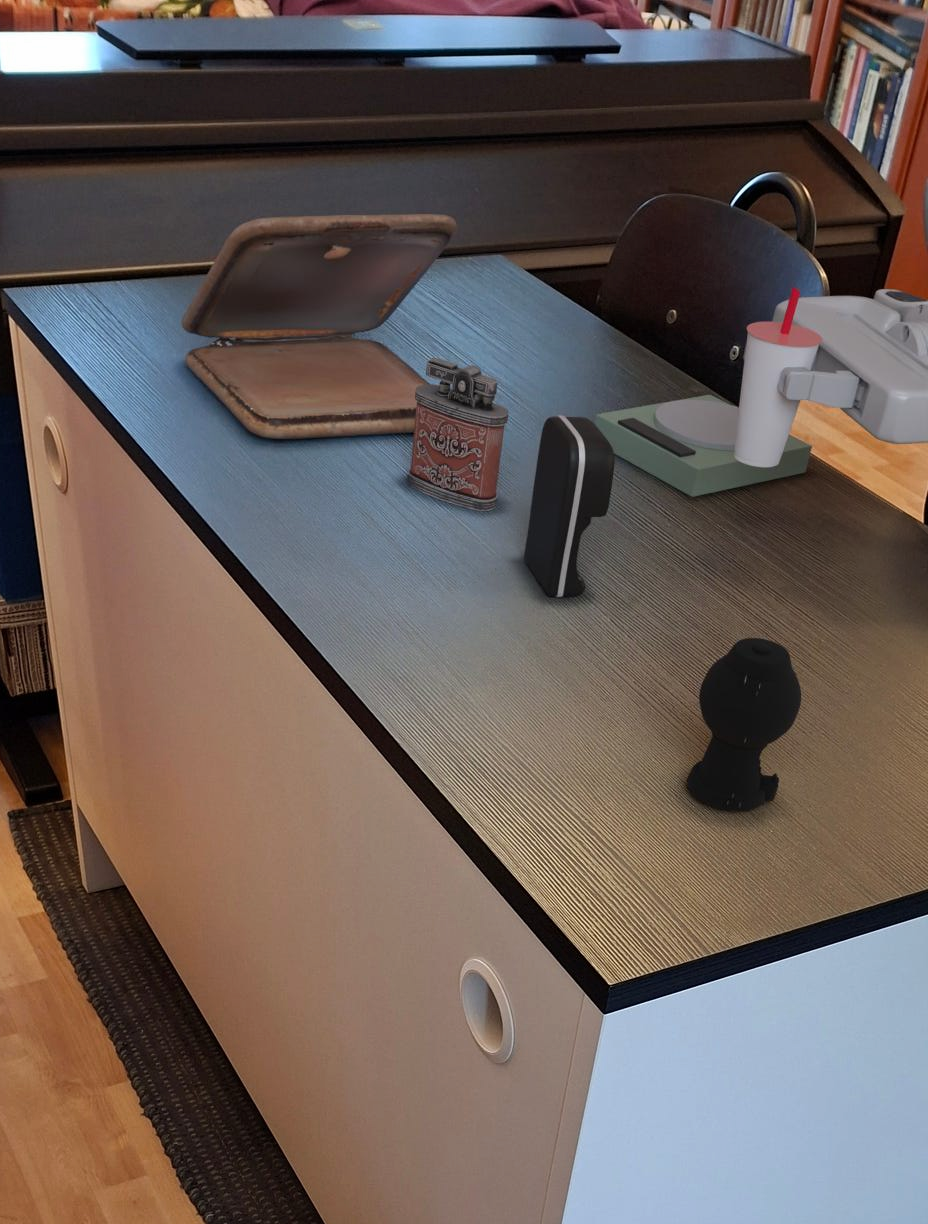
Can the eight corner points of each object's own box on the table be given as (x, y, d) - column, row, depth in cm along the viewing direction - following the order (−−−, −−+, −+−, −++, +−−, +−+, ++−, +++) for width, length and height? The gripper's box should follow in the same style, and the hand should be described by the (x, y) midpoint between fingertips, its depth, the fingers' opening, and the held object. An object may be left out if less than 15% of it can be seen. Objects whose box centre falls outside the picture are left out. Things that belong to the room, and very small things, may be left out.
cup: (780, 447, 120) (820, 278, 113) (801, 474, 116) (843, 301, 109) (712, 443, 120) (747, 273, 112) (731, 471, 116) (768, 296, 108)
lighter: (504, 503, 128) (521, 376, 122) (482, 515, 126) (499, 386, 119) (421, 473, 131) (433, 347, 124) (398, 484, 129) (409, 357, 122)
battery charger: (597, 600, 116) (626, 445, 109) (548, 601, 115) (573, 445, 108) (568, 558, 121) (593, 407, 114) (521, 559, 120) (543, 406, 113)
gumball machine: (772, 834, 95) (815, 684, 88) (673, 816, 95) (709, 665, 89) (773, 777, 100) (814, 631, 93) (680, 760, 100) (714, 614, 94)
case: (379, 351, 152) (393, 165, 142) (475, 433, 139) (498, 235, 128) (174, 360, 145) (172, 164, 134) (254, 449, 131) (259, 238, 120)
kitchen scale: (704, 420, 148) (711, 387, 146) (805, 472, 140) (814, 438, 138) (591, 441, 140) (597, 407, 139) (691, 497, 133) (699, 462, 131)
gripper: (993, 467, 112) (816, 468, 108) (862, 366, 126) (703, 364, 123) (1023, 375, 108) (840, 373, 104) (884, 281, 122) (720, 277, 119)
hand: (765, 367), depth 114 cm, fingers closed on cup, 5 cm apart
